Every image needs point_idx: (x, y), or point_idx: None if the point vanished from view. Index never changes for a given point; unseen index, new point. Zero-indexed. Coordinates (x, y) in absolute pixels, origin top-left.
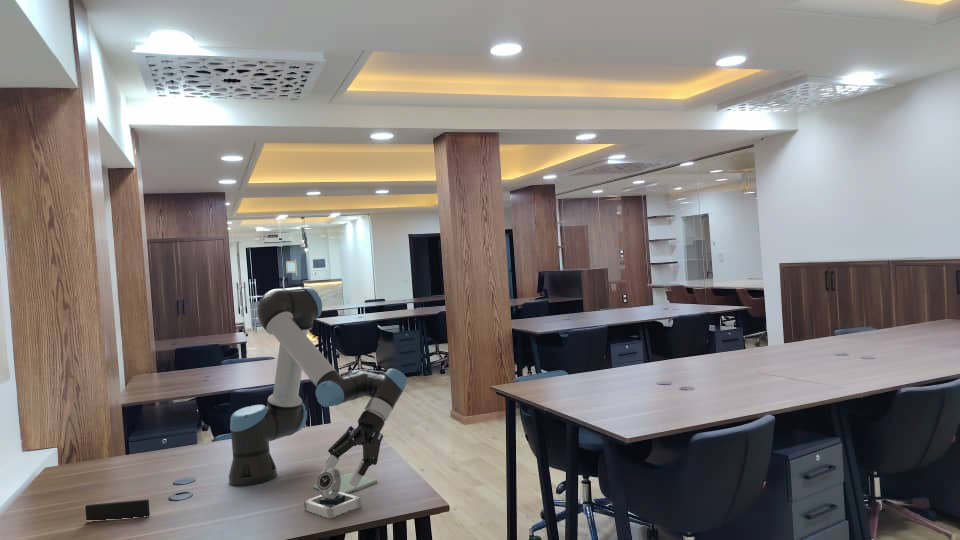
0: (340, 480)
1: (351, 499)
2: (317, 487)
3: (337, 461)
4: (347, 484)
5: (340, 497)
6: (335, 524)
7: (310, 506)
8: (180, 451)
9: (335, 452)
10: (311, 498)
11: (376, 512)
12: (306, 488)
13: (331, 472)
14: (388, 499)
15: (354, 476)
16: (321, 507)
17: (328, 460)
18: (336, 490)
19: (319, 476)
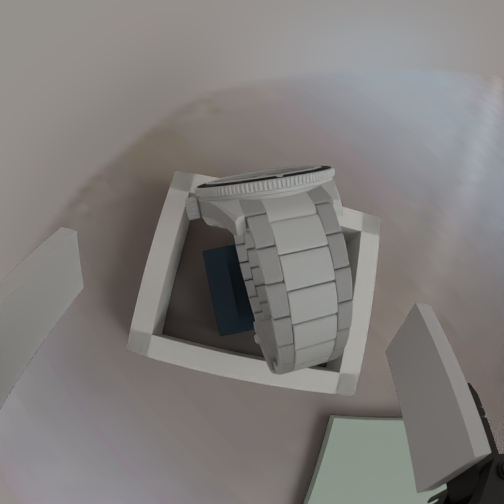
0: (266, 359)
1: (155, 315)
2: None
3: (417, 474)
4: (375, 499)
5: (212, 293)
6: (130, 161)
7: None
8: None
9: (478, 494)
10: (376, 256)
11: None
12: (497, 398)
13: (242, 204)
14: (85, 442)
15: (30, 257)
16: None
17: (473, 402)
18: (267, 319)
19: (330, 168)
